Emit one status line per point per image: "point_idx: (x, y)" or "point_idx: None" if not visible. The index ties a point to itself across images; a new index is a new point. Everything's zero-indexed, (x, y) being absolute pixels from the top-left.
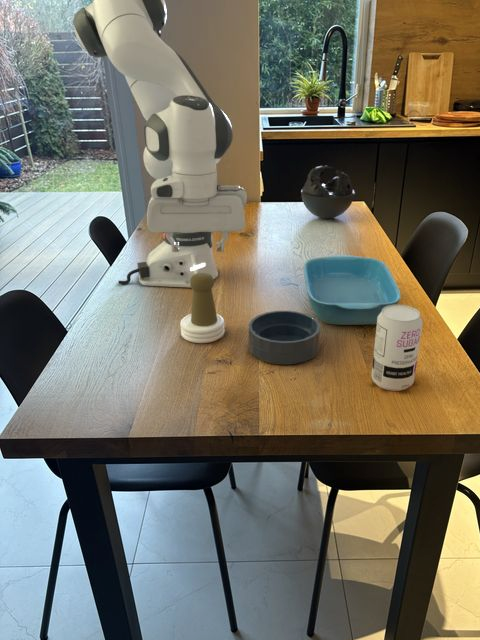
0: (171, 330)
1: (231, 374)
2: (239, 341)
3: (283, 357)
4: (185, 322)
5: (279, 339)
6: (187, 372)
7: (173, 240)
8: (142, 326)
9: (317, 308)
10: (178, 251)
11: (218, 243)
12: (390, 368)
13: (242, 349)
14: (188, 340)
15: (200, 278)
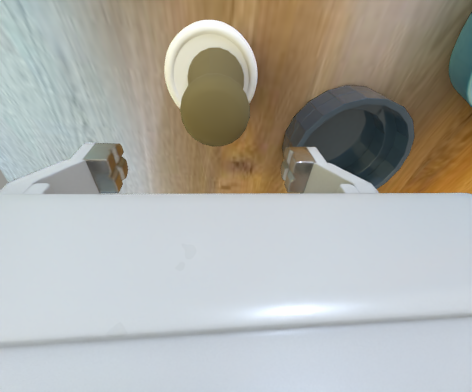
0: (143, 43)
1: (248, 192)
2: (274, 111)
3: None
4: (176, 83)
5: (338, 119)
6: (196, 184)
7: (79, 183)
8: (64, 6)
9: (458, 80)
10: (125, 172)
11: (297, 184)
12: None
13: (273, 137)
14: None
15: (212, 142)
